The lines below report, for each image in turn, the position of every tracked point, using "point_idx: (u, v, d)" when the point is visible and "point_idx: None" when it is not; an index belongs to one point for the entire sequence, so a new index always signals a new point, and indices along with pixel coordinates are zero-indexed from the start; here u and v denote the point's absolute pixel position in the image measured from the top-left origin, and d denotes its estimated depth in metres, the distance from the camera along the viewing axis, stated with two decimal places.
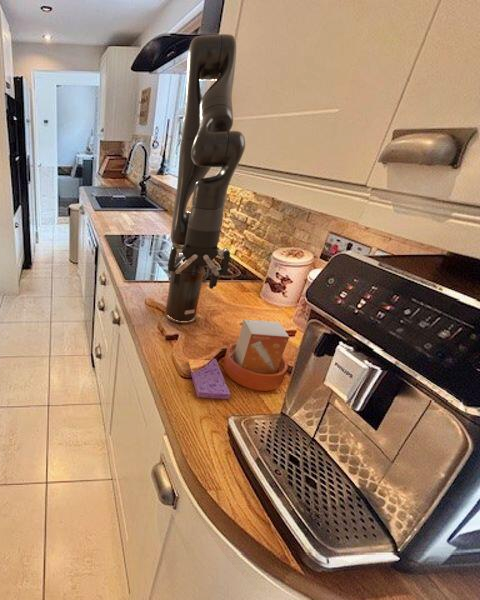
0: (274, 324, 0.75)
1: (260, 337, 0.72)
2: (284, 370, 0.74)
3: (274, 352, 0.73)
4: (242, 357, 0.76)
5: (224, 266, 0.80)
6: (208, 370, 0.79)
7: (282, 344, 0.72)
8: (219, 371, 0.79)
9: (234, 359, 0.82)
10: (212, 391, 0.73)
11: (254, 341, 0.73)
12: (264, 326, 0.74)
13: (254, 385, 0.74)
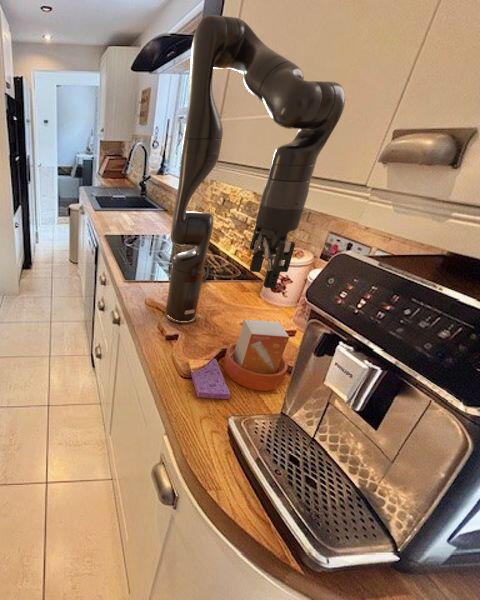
0: (274, 324, 0.75)
1: (260, 337, 0.72)
2: (284, 370, 0.74)
3: (274, 352, 0.73)
4: (242, 357, 0.76)
5: (274, 261, 0.63)
6: (208, 370, 0.79)
7: (282, 344, 0.72)
8: (219, 371, 0.79)
9: (234, 359, 0.82)
10: (212, 391, 0.73)
11: (254, 341, 0.73)
12: (264, 326, 0.74)
13: (254, 385, 0.74)
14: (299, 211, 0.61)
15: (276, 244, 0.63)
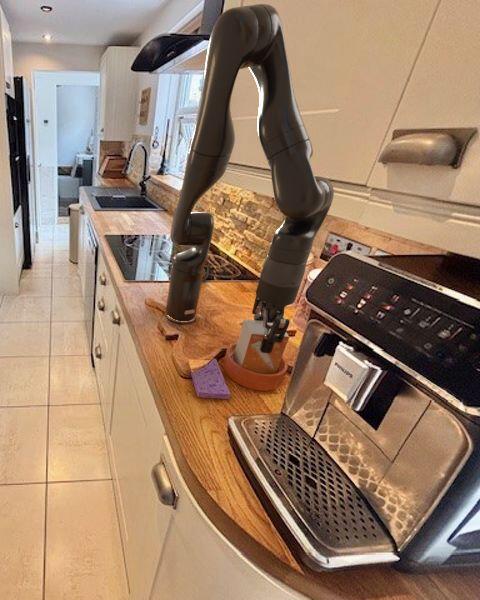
0: None
1: (260, 337, 0.72)
2: (284, 370, 0.74)
3: (274, 352, 0.73)
4: (242, 357, 0.76)
5: (270, 332, 0.68)
6: (208, 370, 0.79)
7: (282, 344, 0.72)
8: (219, 371, 0.79)
9: (234, 359, 0.82)
10: (212, 391, 0.73)
11: (254, 341, 0.73)
12: None
13: (254, 385, 0.74)
14: (295, 288, 0.66)
15: (274, 316, 0.68)
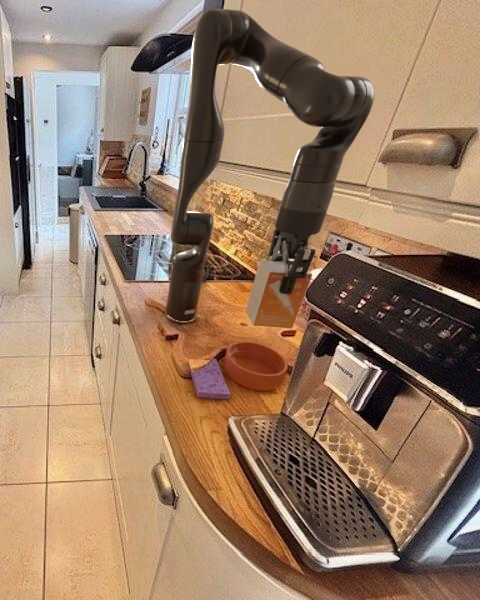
0: None
1: (280, 275, 0.64)
2: (284, 370, 0.74)
3: (294, 294, 0.66)
4: (258, 301, 0.69)
5: (292, 267, 0.61)
6: (208, 370, 0.79)
7: (304, 283, 0.65)
8: (219, 371, 0.79)
9: (248, 308, 0.74)
10: (212, 391, 0.73)
11: (273, 281, 0.65)
12: (283, 265, 0.67)
13: (254, 385, 0.74)
14: (322, 214, 0.58)
15: (296, 248, 0.61)
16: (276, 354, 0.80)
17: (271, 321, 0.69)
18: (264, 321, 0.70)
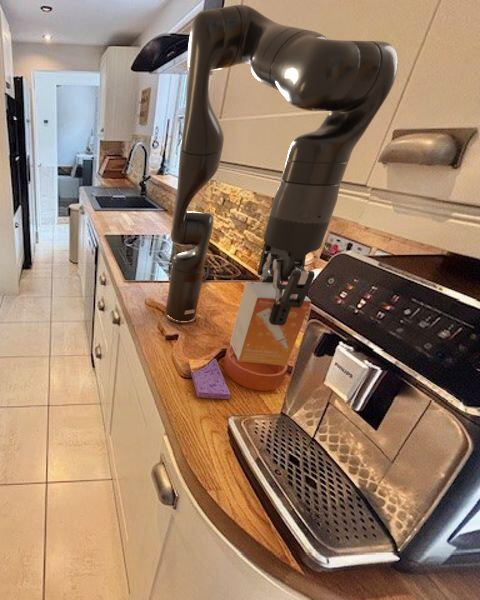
0: None
1: (270, 302, 0.51)
2: (284, 370, 0.74)
3: (288, 324, 0.52)
4: (243, 332, 0.55)
5: (284, 293, 0.47)
6: (208, 370, 0.79)
7: (301, 312, 0.51)
8: (219, 371, 0.79)
9: (233, 337, 0.60)
10: (212, 391, 0.73)
11: (261, 309, 0.52)
12: None
13: (254, 385, 0.74)
14: (323, 226, 0.45)
15: (290, 269, 0.47)
16: None
17: (261, 356, 0.56)
18: (252, 357, 0.56)
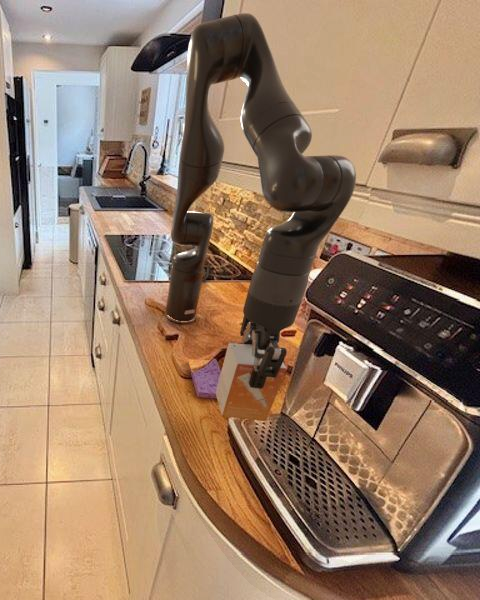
0: None
1: (249, 368, 0.55)
2: None
3: (267, 387, 0.57)
4: (226, 391, 0.60)
5: (261, 364, 0.52)
6: (208, 370, 0.79)
7: (277, 377, 0.55)
8: (219, 371, 0.79)
9: (218, 391, 0.65)
10: (212, 391, 0.73)
11: (241, 373, 0.56)
12: None
13: None
14: (295, 307, 0.49)
15: (266, 343, 0.52)
16: None
17: (242, 412, 0.60)
18: (234, 413, 0.61)
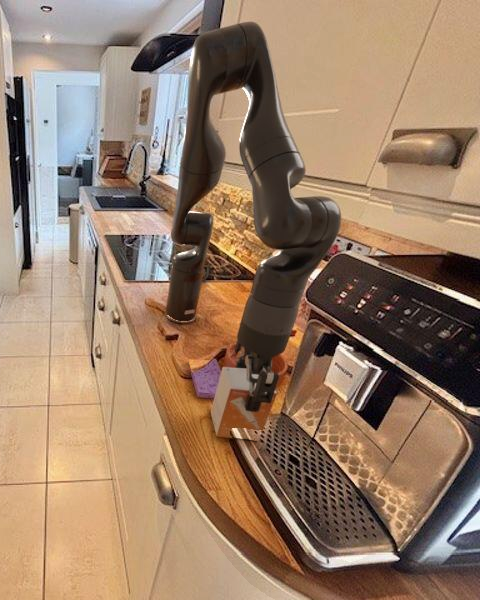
0: None
1: (242, 393, 0.58)
2: (284, 370, 0.74)
3: None
4: (220, 413, 0.63)
5: (255, 389, 0.54)
6: (208, 370, 0.79)
7: None
8: (219, 371, 0.79)
9: (212, 411, 0.68)
10: (212, 391, 0.73)
11: (234, 398, 0.59)
12: None
13: None
14: (285, 336, 0.51)
15: (258, 369, 0.54)
16: None
17: None
18: (228, 433, 0.63)
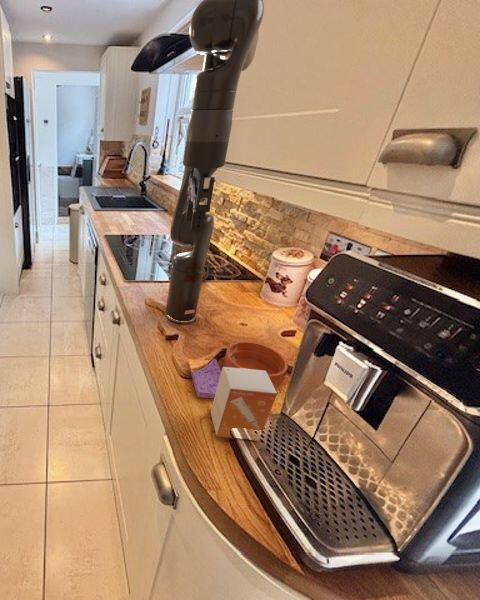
0: (260, 374, 0.61)
1: (242, 393, 0.58)
2: (284, 370, 0.74)
3: (258, 410, 0.59)
4: (220, 413, 0.63)
5: (196, 199, 0.59)
6: (208, 370, 0.79)
7: (268, 401, 0.58)
8: (219, 371, 0.79)
9: (212, 411, 0.68)
10: (212, 391, 0.73)
11: (234, 398, 0.59)
12: (247, 377, 0.61)
13: None
14: (221, 144, 0.57)
15: None
16: (276, 354, 0.80)
17: None
18: (228, 433, 0.63)
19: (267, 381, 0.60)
